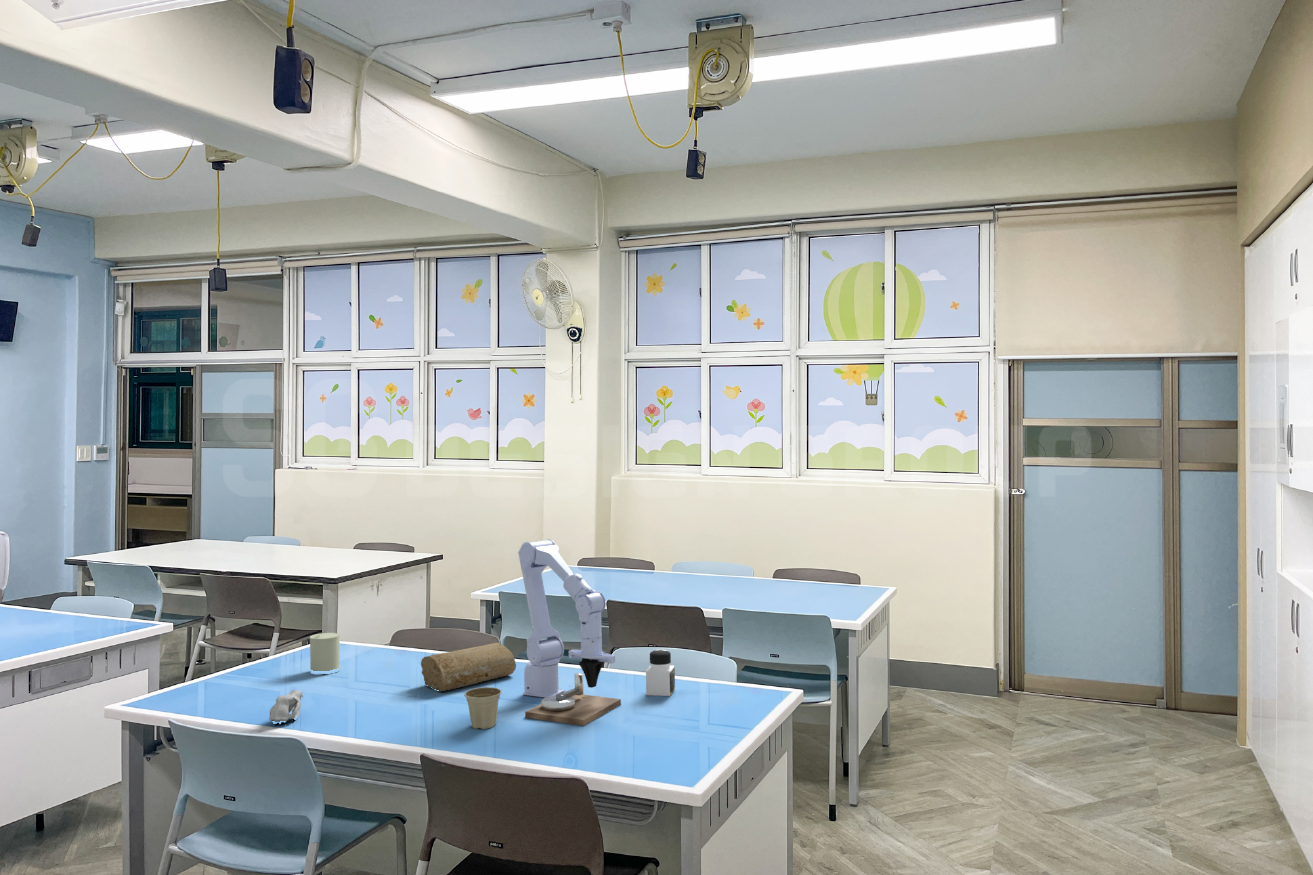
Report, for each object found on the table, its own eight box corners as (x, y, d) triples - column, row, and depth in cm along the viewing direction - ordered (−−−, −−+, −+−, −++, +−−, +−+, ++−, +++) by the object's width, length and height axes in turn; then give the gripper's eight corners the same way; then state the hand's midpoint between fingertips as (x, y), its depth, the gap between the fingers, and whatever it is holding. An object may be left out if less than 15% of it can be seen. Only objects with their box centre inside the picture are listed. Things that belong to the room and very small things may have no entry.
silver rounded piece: (560, 712, 238) (559, 687, 238) (534, 707, 243) (533, 683, 243) (594, 698, 251) (594, 675, 251) (569, 694, 256) (569, 671, 256)
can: (303, 672, 291) (303, 635, 291) (328, 666, 299) (328, 630, 299) (321, 676, 286) (320, 638, 286) (346, 670, 294) (345, 633, 294)
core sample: (516, 677, 282) (516, 645, 282) (443, 695, 263) (442, 661, 263) (490, 669, 292) (489, 638, 292) (417, 687, 273) (416, 653, 273)
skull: (257, 718, 235) (274, 677, 244) (273, 735, 241) (289, 695, 250) (284, 717, 234) (301, 676, 243) (300, 735, 240) (315, 694, 248)
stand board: (525, 717, 241) (525, 710, 241) (565, 697, 259) (564, 691, 259) (583, 725, 233) (583, 719, 233) (620, 704, 251) (620, 698, 251)
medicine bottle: (670, 696, 258) (669, 654, 258) (646, 695, 260) (645, 653, 259) (675, 689, 265) (674, 648, 265) (651, 688, 266) (650, 647, 266)
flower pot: (484, 733, 228) (484, 699, 228) (457, 727, 233) (456, 694, 233) (509, 723, 236) (509, 690, 236) (482, 717, 241) (482, 685, 241)
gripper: (621, 636, 249) (622, 686, 249) (579, 631, 257) (580, 679, 257) (606, 641, 243) (606, 692, 243) (563, 636, 251) (564, 685, 251)
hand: (592, 686), depth 250 cm, fingers closed
